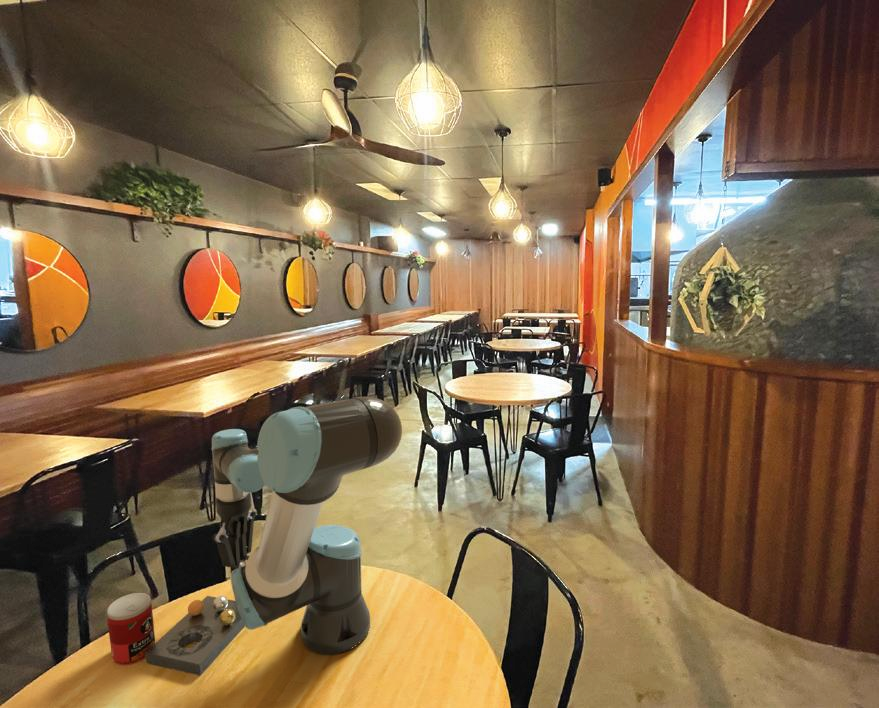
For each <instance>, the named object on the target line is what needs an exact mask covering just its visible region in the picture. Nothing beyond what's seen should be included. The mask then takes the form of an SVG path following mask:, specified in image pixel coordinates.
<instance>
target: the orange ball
mask: <svg viewBox="0 0 879 708" xmlns="http://www.w3.org/2000/svg"><path fill="white" fill-rule="evenodd" d="M203 608H204V604H203V602H202V600H200V599H193V600H192V601H191V602H190V603H189V605H188V606H187V611H188V613H189V614H190V615H192V616H196V615H198V614H200V613H201V612H202V610H203ZM188 613H187V614H188Z"/></svg>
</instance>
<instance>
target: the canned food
mask: <svg viewBox="0 0 879 708" xmlns="http://www.w3.org/2000/svg"><path fill="white" fill-rule="evenodd" d="M106 619H107V628H108V634H109V635H108V636H109V643H110V650H111V651H110V652H111V658H112V660H113V662H114V663H115V664H117V665H122V666H126V665H127V666H128V665H131V664H135V663H138V662H140V661H142V660H143V659H146V658H145V652H146V651H147V650H148V649H149V648H150V647H151V646H153V645H154V644H155V643H156V636H155V623H154V615H153V605H152V598H151V596H150V595H149V593H148V594H147V593H145V592H132V593H129V594H126V595H124V596H121V597H119V598H117V599H116V600H114V601H113V602H112V603H111V604H110V605H109V606H108V607H107V610H106Z"/></svg>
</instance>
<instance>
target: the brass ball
mask: <svg viewBox="0 0 879 708" xmlns="http://www.w3.org/2000/svg"><path fill="white" fill-rule="evenodd" d="M234 619H235V612H234V611H233V610H231V609H226V610H224V611H223V612H222V613H221V615H220V618H219V621H220V623H221V624H222V625H224V626H227V625H230V624H231V623H232V622H233V621H234Z"/></svg>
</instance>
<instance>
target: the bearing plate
mask: <svg viewBox="0 0 879 708" xmlns="http://www.w3.org/2000/svg"><path fill="white" fill-rule="evenodd" d="M217 597H218V596H217ZM217 597H216V596H210V595H206V597H204V598H203V599H202V600H201V601H202V602H203V604H204V608H203V610H202V612H201V613H200V614H198V615H196V616H192V615H190V614H189V613H187V614H185V616H183V617H182V618H181V619H180V620H179V621H178V622H176V624H174V625H173V626H172V627H171V628H170V629H169V630H167V632H166V633H165V634H164V635H162V636H161V637H160V638H158V640H156V641H155V644H154V645H153V646H151V647H150V648H149V649H148V650H147V651H146V652H145V658H144V659H145V664H147V665H152V666H156V667H160V668H165V669H170V670H173V671H178V672H181V673H182V672H183V673H188V674H191V675H196V676H202V675H203V674H204V672H206V670H207V669H208V668H209V667H210V666H211V665H212V664H213V663H214V661H215V660H216V659H217V658H218V657H219V655H221V654H222V653H223V651H225V649H227V647H228V646H229V645H230V643H232V641H233V640H234V639H235V638H236V637H237V636H238V634H239V633H240V632H241V631H242V630H243V629H244V628H246V627H245V625H244V624H243V621H242V619H241V617H240V614H239V611H238V608H237V604H236V601H235V599H234V600H232V599H228V605H227V607H226V608H225V609H224V610H226V609H231V610H233V611H234V612H235V619H234V621H233V622H232V623H231V624H230V625H227V626H224V625H222V624H221V623H220V621H219V618H220V615H221V613H222V612H223V611H224V610H223V611H220V612H218V611H215V610H214V608H213V602H214V600H215V599H216V598H217ZM196 643H197V644H196ZM190 644H194V645H193V646H191V647H187V646H188V645H190ZM184 647H185V648H184Z"/></svg>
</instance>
